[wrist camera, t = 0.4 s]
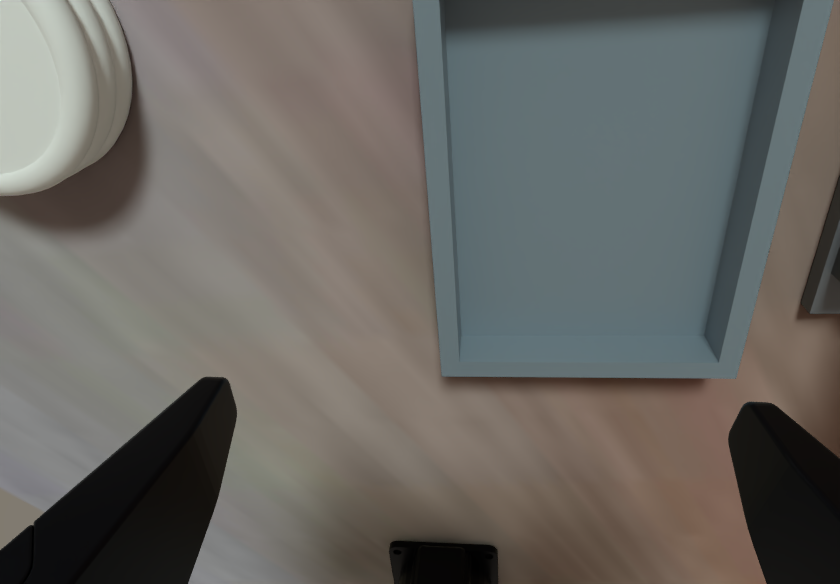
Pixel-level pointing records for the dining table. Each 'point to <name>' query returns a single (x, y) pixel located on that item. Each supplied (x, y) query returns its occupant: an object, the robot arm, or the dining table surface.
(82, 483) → the robot arm
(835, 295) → the grey piece
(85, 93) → the white round disc
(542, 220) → the parts tray
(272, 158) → the dining table surface
